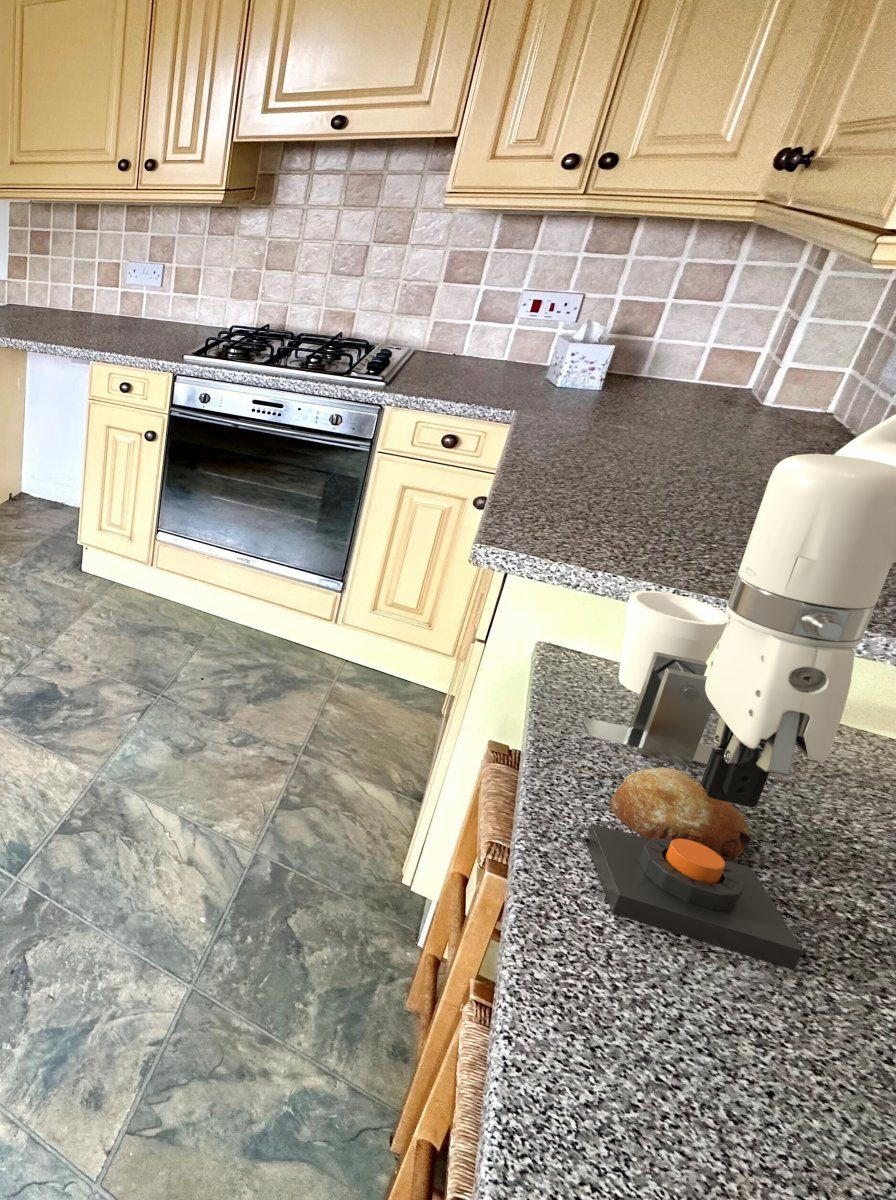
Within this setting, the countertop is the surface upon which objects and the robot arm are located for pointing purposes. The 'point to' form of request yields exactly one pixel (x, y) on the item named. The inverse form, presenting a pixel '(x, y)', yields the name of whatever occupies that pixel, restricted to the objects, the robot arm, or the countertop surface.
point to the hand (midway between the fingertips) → (727, 796)
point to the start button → (695, 860)
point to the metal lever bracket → (665, 714)
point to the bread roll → (679, 811)
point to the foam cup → (666, 632)
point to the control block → (690, 898)
